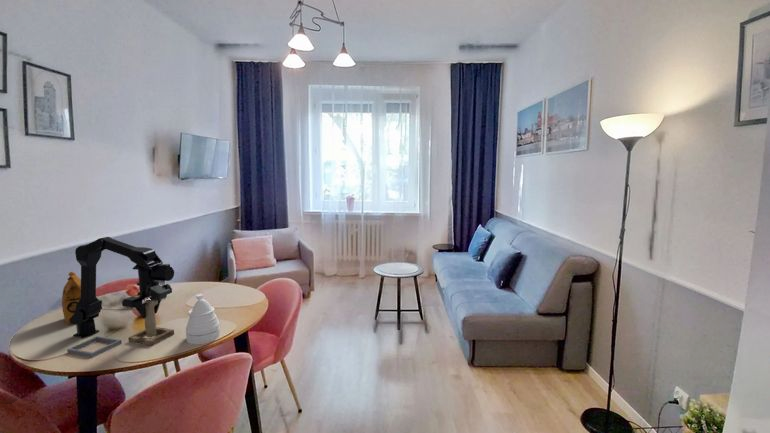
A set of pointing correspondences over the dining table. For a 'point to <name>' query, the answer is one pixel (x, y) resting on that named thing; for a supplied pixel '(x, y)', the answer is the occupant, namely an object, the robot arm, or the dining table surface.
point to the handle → (150, 318)
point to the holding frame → (91, 354)
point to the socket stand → (145, 341)
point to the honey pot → (202, 323)
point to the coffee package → (71, 296)
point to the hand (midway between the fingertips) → (149, 315)
